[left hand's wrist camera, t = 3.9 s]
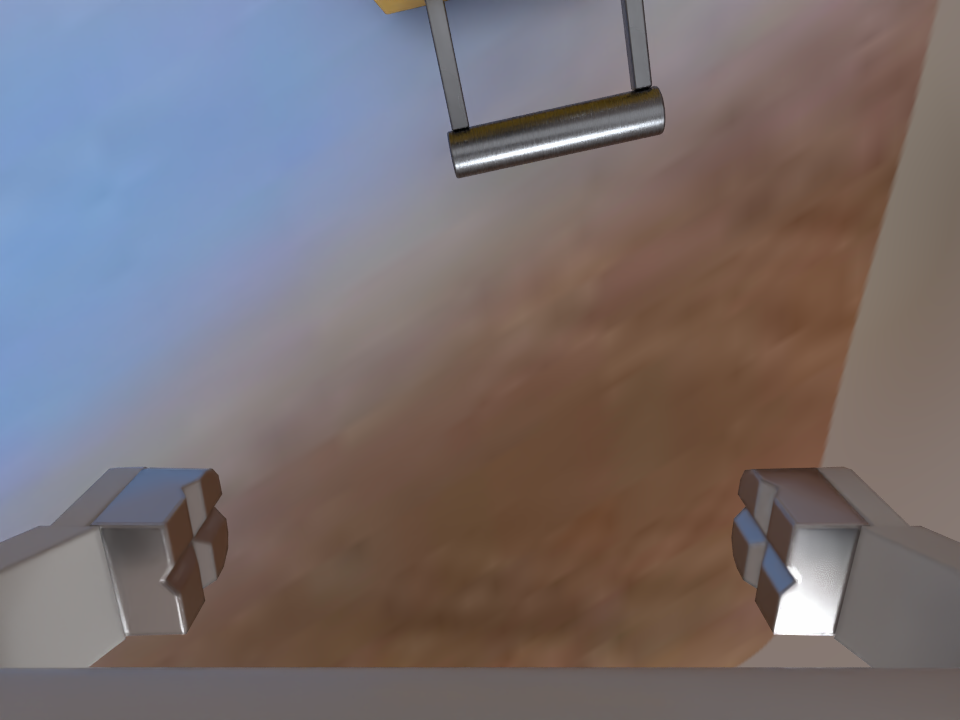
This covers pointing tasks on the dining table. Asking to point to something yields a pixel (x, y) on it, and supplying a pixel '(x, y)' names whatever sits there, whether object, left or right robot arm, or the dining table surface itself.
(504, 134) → the drawer
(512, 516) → the dining table surface
